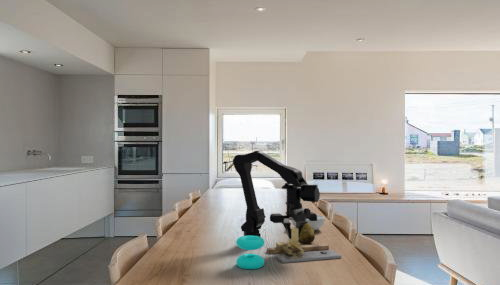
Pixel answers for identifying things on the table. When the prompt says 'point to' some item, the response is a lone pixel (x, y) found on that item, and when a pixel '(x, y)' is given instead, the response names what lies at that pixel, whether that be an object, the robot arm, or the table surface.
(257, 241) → the donuts
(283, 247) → the rail
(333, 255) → the hole plate
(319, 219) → the cereal bowl
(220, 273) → the table surface
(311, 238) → the potato
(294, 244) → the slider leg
